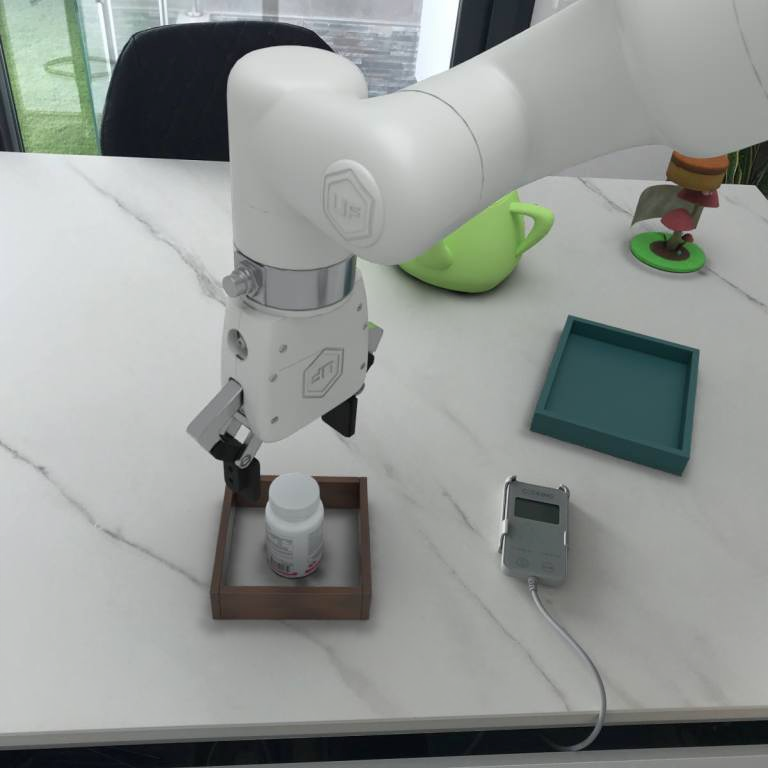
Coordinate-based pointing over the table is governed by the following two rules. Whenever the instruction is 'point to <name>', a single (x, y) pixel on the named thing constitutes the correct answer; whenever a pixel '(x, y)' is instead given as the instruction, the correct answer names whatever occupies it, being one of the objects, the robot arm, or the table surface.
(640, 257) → the mushroom figurine
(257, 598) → the square wooden frame
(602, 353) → the tray
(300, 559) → the pill bottle
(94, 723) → the table surface
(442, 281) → the teapot
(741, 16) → the robot arm
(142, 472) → the table surface
